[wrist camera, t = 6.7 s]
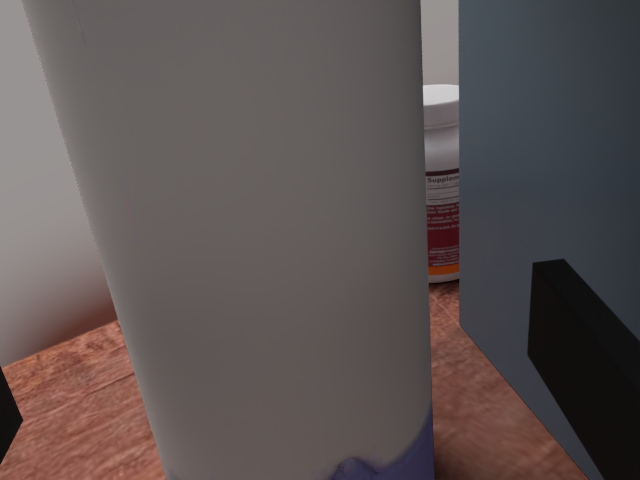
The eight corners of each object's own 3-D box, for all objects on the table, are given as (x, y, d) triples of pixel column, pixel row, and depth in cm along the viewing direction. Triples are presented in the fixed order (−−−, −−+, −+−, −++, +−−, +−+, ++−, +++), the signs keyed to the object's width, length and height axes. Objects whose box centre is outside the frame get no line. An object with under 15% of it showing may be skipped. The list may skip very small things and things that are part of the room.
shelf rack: (159, 781, 16) (-430, -532, 6) (155, 399, 30) (-15, -183, 20) (717, 584, 19) (1036, -506, 9) (479, 319, 33) (487, -221, 23)
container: (362, 377, 30) (319, -75, 21) (489, 534, 22) (507, -104, 13) (161, 453, 27) (13, -41, 18) (220, 671, 19) (-2, -50, 10)
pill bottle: (374, 249, 42) (363, 90, 37) (459, 233, 43) (459, 75, 38) (403, 294, 37) (393, 114, 32) (499, 275, 37) (505, 96, 32)
